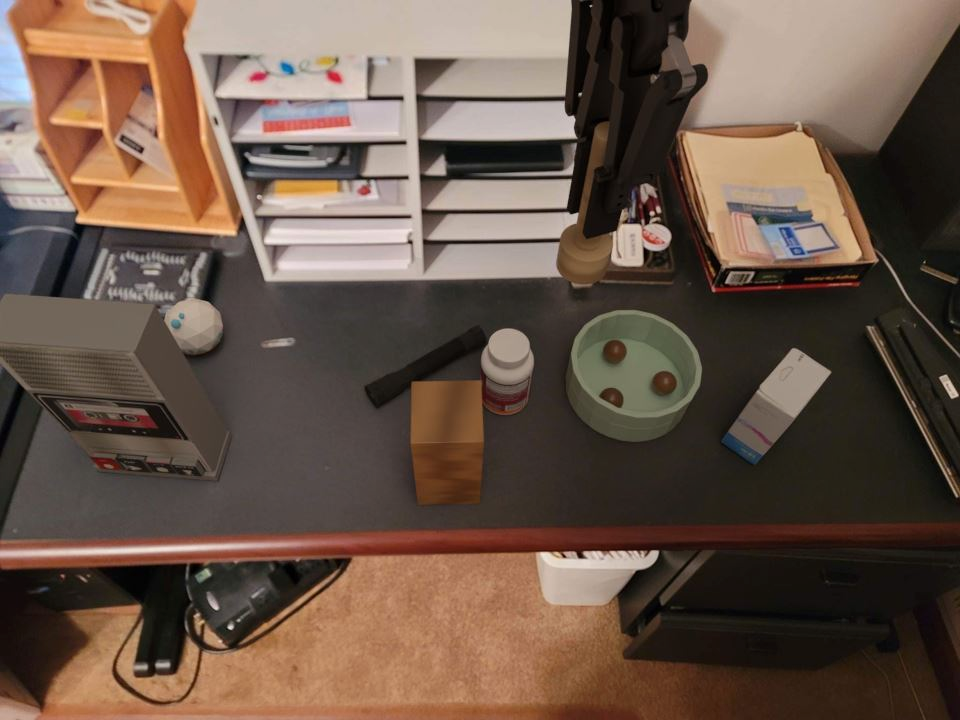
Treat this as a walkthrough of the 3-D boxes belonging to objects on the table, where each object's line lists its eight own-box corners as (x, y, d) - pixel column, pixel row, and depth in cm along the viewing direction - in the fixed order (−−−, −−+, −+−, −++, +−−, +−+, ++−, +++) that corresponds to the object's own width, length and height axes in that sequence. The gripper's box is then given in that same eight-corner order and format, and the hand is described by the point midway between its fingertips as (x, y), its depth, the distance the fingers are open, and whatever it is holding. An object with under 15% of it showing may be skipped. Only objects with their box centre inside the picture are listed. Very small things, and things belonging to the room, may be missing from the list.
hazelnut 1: (628, 364, 89) (633, 350, 86) (607, 370, 88) (611, 357, 86) (617, 345, 90) (622, 332, 88) (597, 352, 90) (600, 338, 87)
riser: (477, 448, 83) (481, 379, 70) (480, 503, 79) (484, 441, 66) (418, 449, 82) (411, 381, 70) (417, 505, 78) (410, 443, 66)
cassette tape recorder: (97, 474, 79) (-30, 348, 59) (117, 427, 83) (3, 292, 62) (218, 484, 79) (133, 360, 58) (232, 436, 83) (157, 303, 62)
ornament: (179, 323, 92) (157, 283, 85) (234, 321, 92) (216, 282, 85) (169, 366, 88) (145, 328, 81) (226, 364, 88) (207, 326, 82)
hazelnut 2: (625, 412, 85) (630, 400, 82) (603, 419, 84) (607, 407, 82) (614, 392, 86) (619, 379, 84) (592, 399, 86) (596, 386, 83)
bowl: (710, 420, 86) (726, 394, 81) (597, 458, 82) (606, 433, 77) (651, 325, 94) (662, 297, 89) (546, 356, 90) (551, 328, 85)
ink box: (755, 468, 82) (795, 418, 72) (719, 442, 84) (753, 390, 74) (791, 422, 86) (834, 369, 76) (755, 398, 87) (792, 343, 78)
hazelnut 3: (677, 395, 86) (684, 382, 84) (656, 402, 86) (662, 389, 83) (666, 376, 88) (672, 363, 86) (644, 383, 87) (650, 370, 85)
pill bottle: (491, 367, 89) (495, 314, 80) (536, 385, 88) (545, 333, 79) (470, 405, 86) (472, 354, 77) (516, 424, 84) (524, 375, 75)
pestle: (614, 279, 60) (651, 145, 48) (565, 289, 59) (592, 155, 47) (596, 243, 62) (627, 107, 50) (549, 251, 61) (570, 116, 50)
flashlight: (365, 394, 86) (362, 381, 84) (473, 333, 92) (474, 319, 90) (378, 411, 85) (375, 399, 82) (487, 348, 91) (487, 334, 88)
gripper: (537, -157, 40) (511, 170, 59) (673, -26, 32) (591, 301, 51) (653, -172, 41) (590, 150, 61) (809, -52, 33) (680, 275, 53)
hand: (591, 219), depth 56 cm, fingers closed on pestle, 2 cm apart
